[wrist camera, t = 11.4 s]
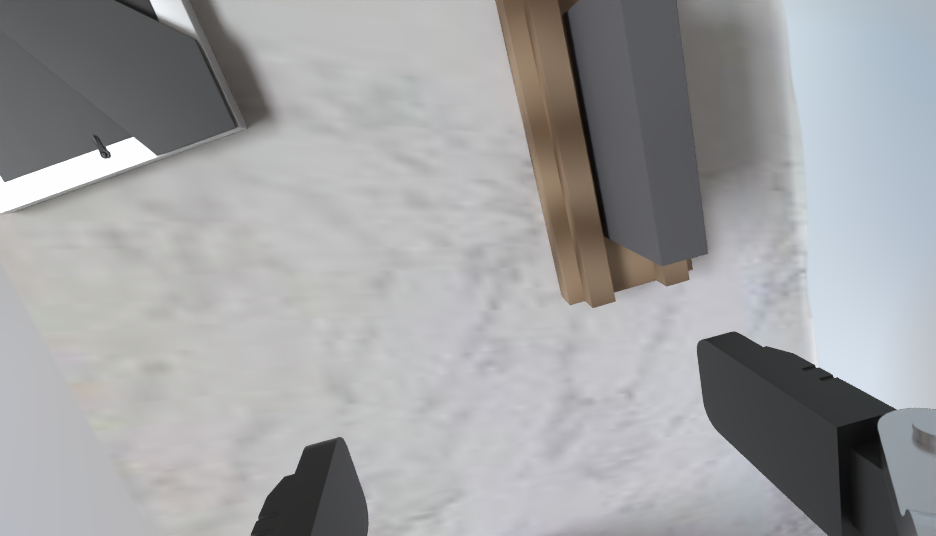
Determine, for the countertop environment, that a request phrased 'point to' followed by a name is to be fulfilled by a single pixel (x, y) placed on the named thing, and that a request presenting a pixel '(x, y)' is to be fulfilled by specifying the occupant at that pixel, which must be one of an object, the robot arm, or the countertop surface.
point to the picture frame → (102, 92)
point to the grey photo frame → (638, 125)
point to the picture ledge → (545, 168)
